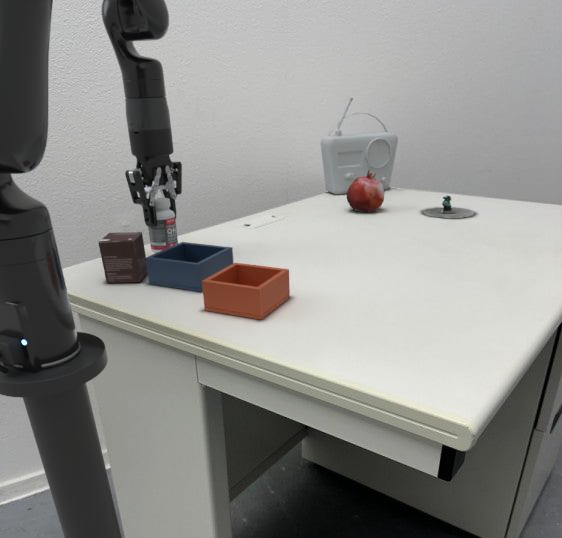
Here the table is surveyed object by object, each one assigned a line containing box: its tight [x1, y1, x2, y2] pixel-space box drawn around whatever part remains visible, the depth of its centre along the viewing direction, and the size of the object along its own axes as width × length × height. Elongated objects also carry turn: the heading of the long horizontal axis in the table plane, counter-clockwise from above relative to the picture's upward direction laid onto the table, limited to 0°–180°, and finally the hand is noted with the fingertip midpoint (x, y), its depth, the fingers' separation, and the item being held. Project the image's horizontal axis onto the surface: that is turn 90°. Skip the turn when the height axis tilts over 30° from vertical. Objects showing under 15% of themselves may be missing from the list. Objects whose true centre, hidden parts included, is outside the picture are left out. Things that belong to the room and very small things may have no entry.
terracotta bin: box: [202, 262, 291, 320], centre depth 82 cm, size 10×10×5 cm
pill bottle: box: [147, 197, 179, 254], centre depth 105 cm, size 5×5×10 cm
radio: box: [320, 96, 399, 195], centre depth 155 cm, size 22×8×25 cm, turn 109°
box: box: [98, 231, 148, 284], centre depth 94 cm, size 6×6×7 cm
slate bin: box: [145, 241, 234, 293], centre depth 94 cm, size 11×11×5 cm
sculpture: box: [422, 195, 475, 219], centre depth 133 cm, size 12×9×8 cm
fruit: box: [346, 170, 385, 213], centre depth 136 cm, size 9×10×10 cm
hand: (161, 222), depth 105 cm, fingers closed on pill bottle, 5 cm apart
